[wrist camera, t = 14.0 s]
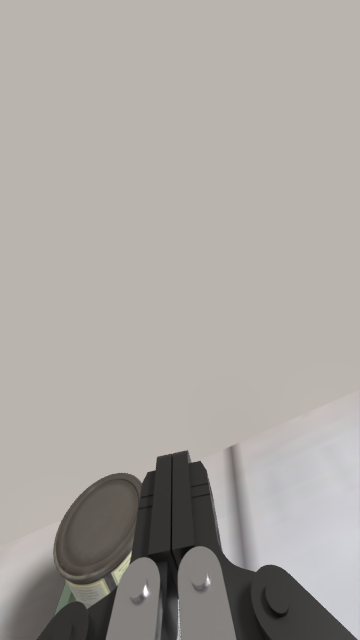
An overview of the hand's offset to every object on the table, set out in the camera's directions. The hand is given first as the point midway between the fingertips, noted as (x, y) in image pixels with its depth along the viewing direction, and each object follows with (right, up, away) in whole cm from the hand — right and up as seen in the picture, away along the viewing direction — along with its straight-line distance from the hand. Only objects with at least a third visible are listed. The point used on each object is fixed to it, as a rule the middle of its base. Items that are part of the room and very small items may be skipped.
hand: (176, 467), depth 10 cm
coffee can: (-6, -29, +17) cm, 34 cm away
